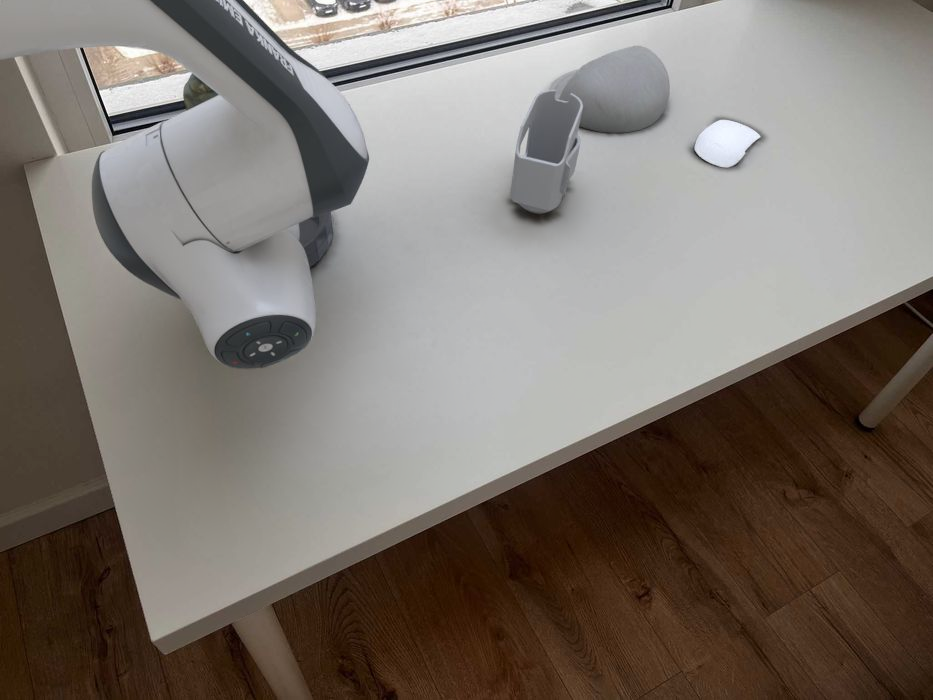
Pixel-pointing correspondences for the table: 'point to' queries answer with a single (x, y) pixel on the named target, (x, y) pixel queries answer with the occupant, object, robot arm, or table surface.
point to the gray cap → (618, 90)
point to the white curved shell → (725, 142)
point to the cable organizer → (546, 152)
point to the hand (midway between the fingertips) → (225, 120)
